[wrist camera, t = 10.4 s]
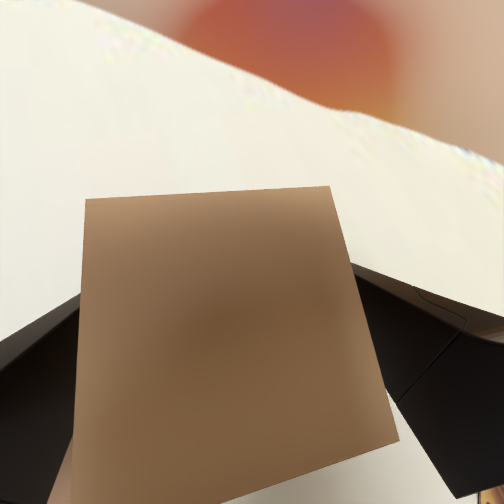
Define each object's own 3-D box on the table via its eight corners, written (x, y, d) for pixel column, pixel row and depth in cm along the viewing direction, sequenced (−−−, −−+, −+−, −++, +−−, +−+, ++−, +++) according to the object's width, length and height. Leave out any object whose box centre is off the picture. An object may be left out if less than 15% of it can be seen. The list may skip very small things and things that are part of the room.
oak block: (262, 331, 15) (399, 440, 3) (196, 343, 14) (67, 557, 2) (252, 268, 16) (329, 185, 4) (191, 276, 15) (85, 199, 3)
